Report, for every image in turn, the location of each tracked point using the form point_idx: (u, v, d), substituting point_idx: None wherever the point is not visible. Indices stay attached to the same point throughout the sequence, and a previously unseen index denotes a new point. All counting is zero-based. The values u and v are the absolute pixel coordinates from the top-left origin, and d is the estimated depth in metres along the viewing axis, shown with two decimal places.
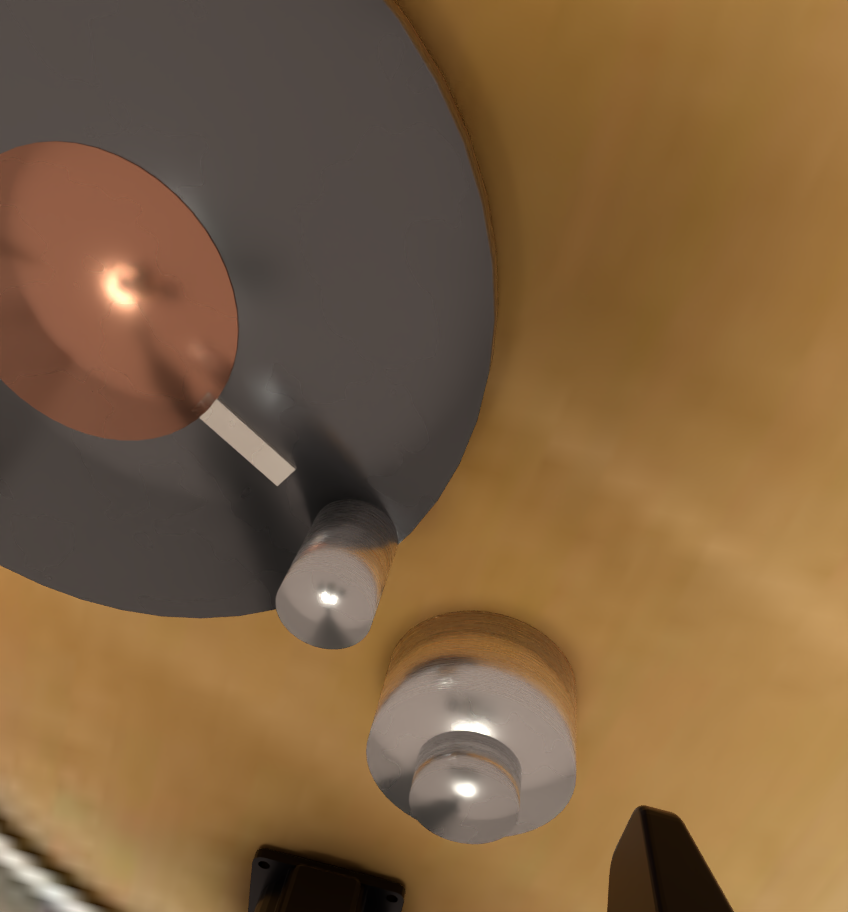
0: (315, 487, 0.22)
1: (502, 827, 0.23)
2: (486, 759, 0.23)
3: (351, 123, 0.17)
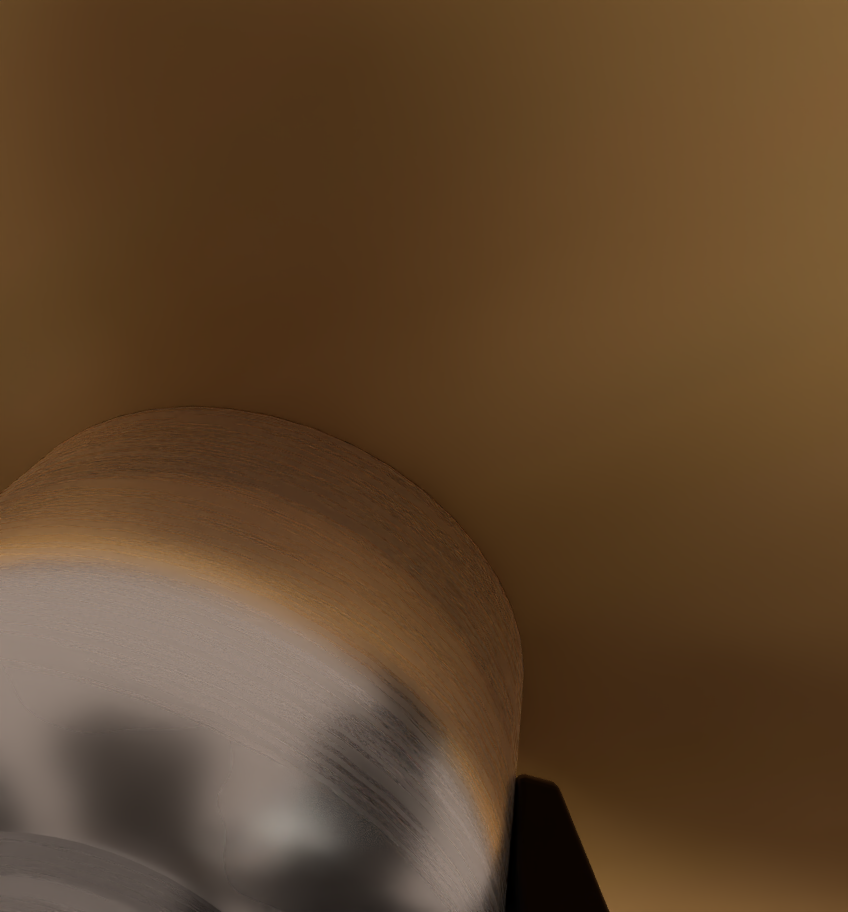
0: None
1: None
2: None
3: None
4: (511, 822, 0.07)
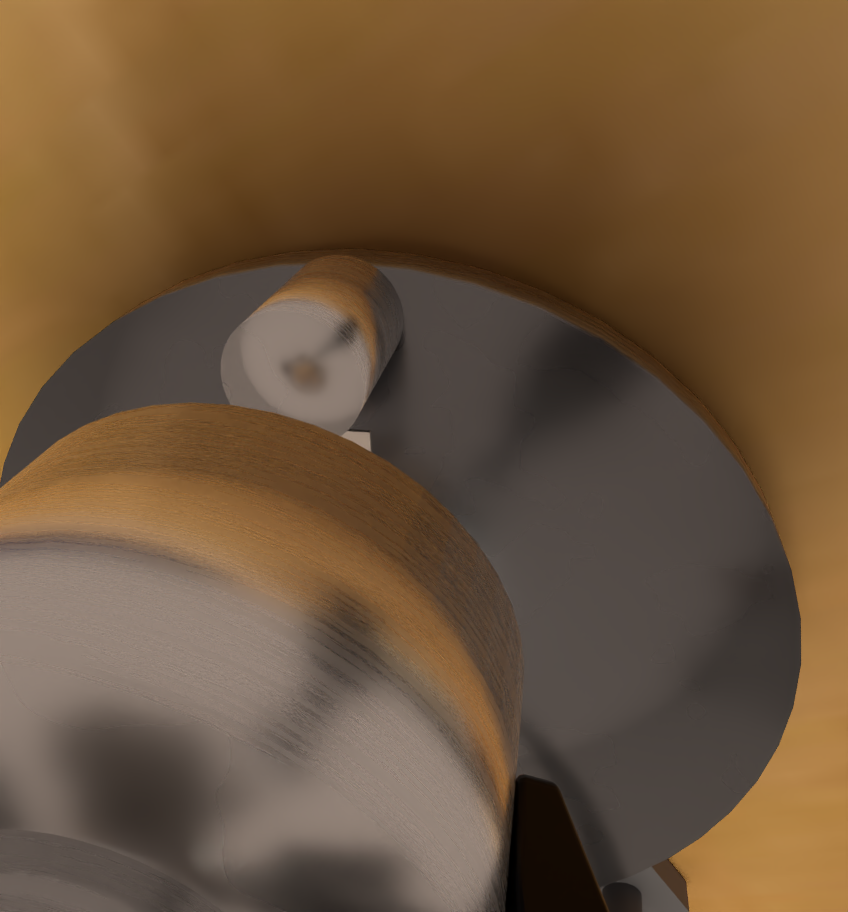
0: None
1: None
2: None
3: None
4: (511, 820, 0.07)
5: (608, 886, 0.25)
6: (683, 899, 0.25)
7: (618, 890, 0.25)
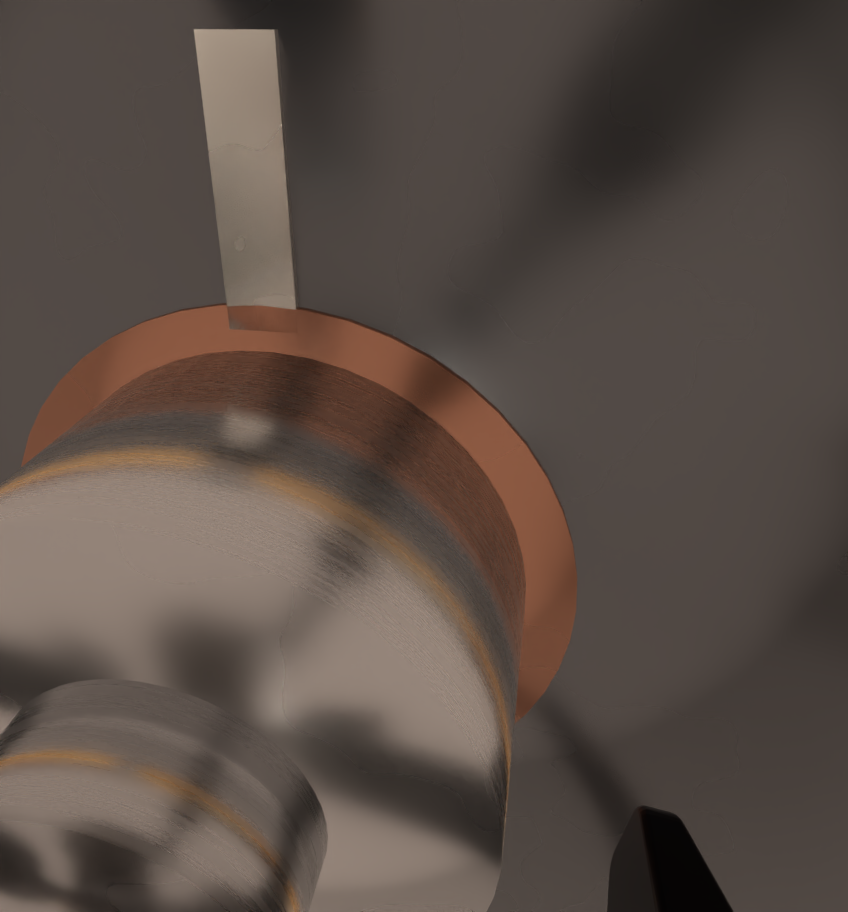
0: None
1: (3, 847, 0.06)
2: None
3: None
4: (515, 700, 0.08)
5: None
6: None
7: None
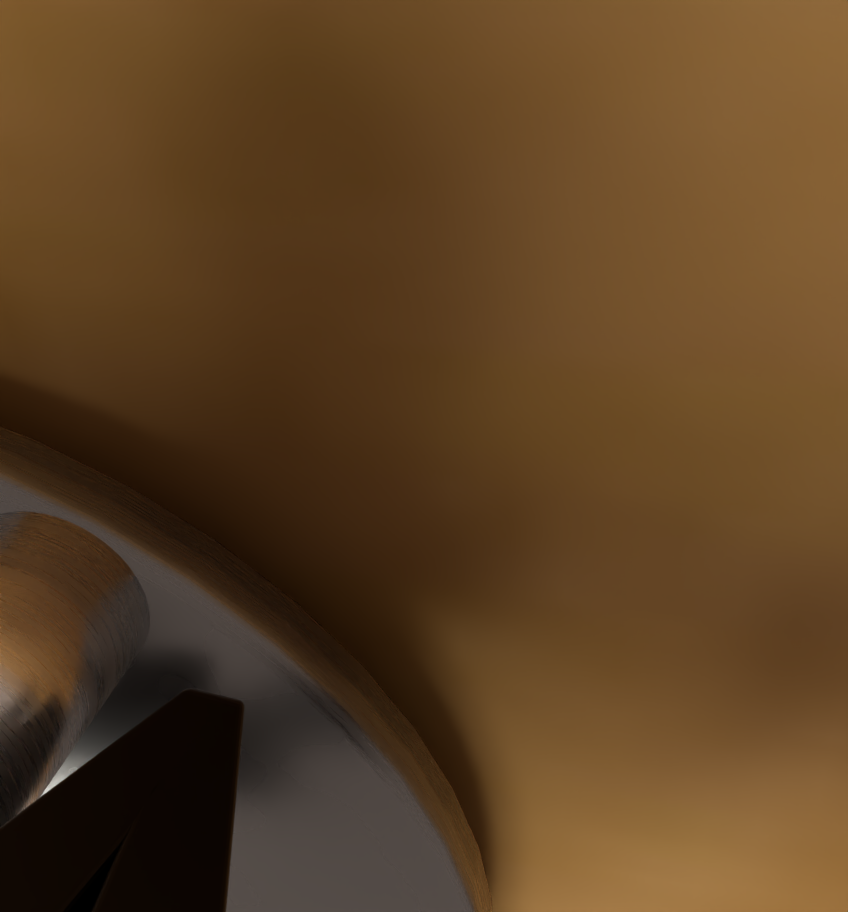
0: None
1: None
2: None
3: None
4: None
5: None
6: None
7: None
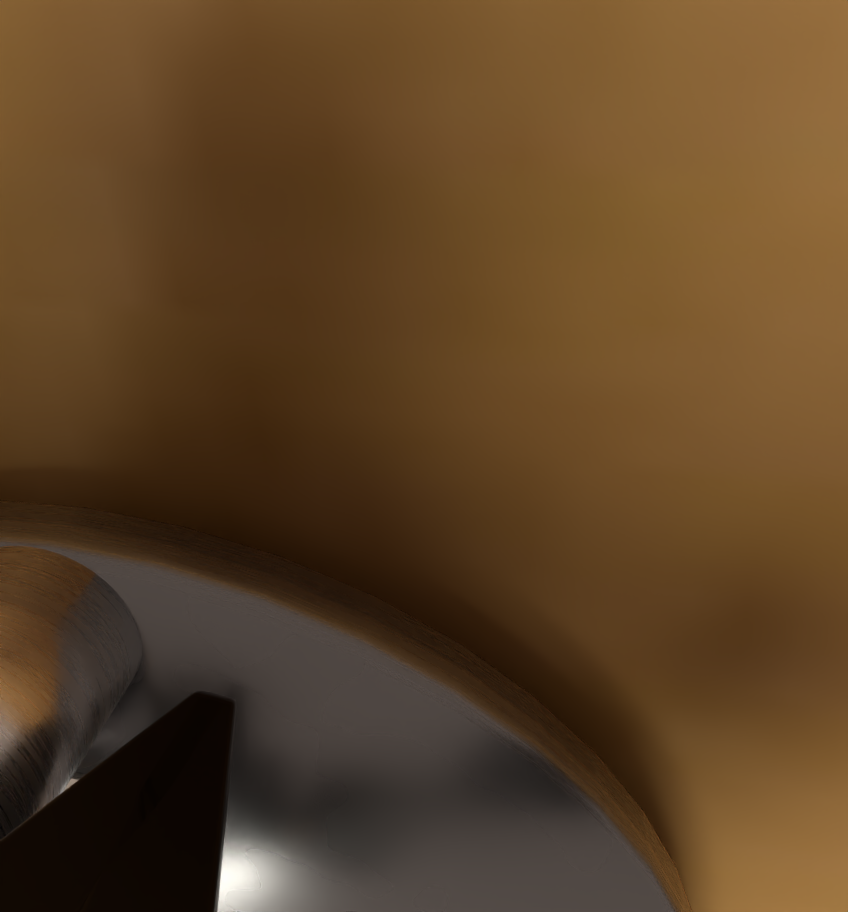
0: None
1: None
2: None
3: None
4: None
5: None
6: None
7: None
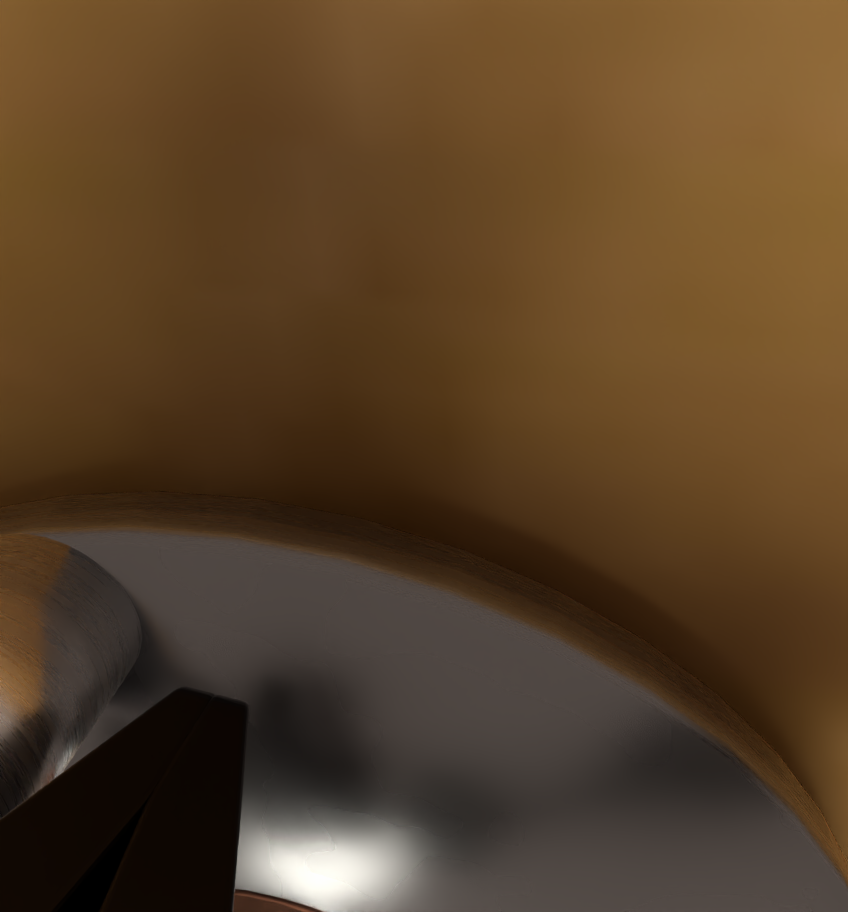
0: None
1: None
2: None
3: None
4: None
5: None
6: None
7: None
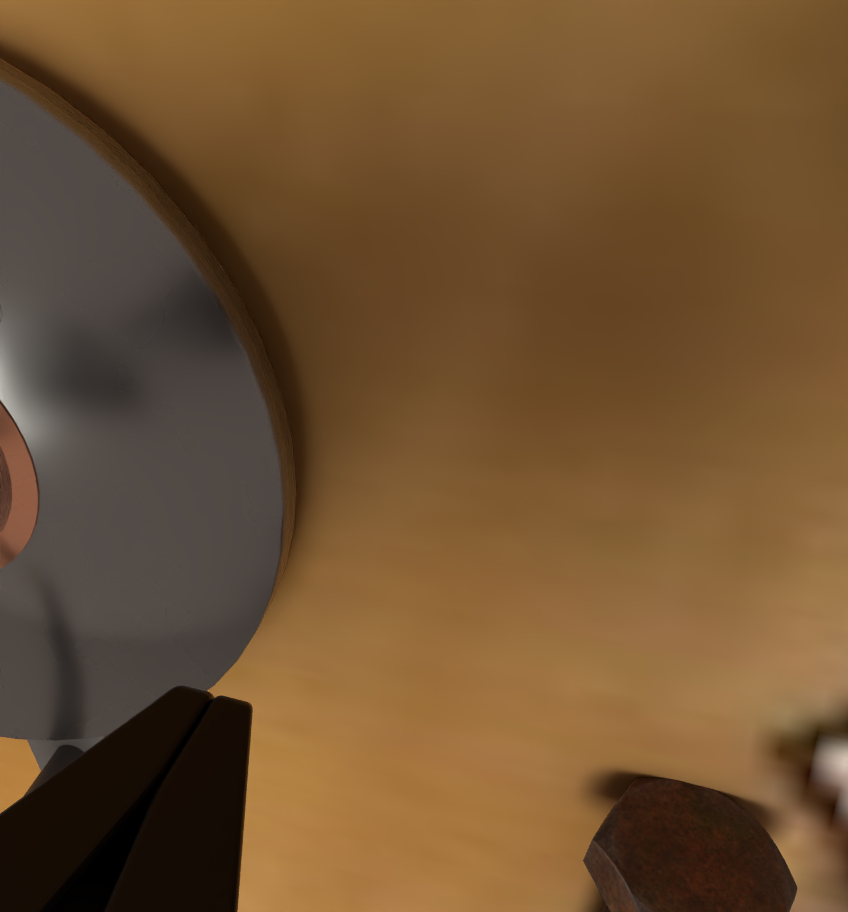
0: None
1: None
2: None
3: None
4: None
5: (63, 746, 0.27)
6: None
7: (69, 752, 0.27)
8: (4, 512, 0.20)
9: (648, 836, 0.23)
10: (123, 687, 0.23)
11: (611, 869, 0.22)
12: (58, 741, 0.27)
